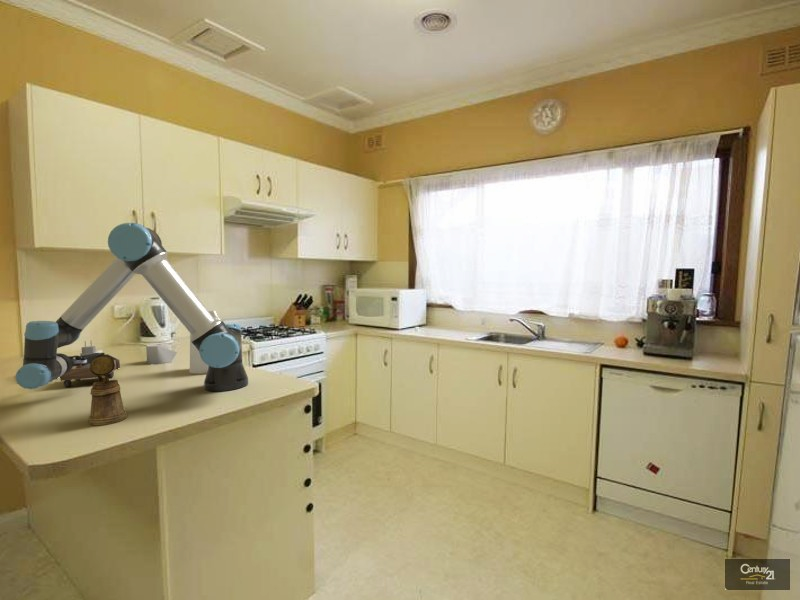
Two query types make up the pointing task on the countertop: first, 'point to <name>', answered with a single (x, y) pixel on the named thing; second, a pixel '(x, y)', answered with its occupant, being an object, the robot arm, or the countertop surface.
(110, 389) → the brown bell-shaped piece
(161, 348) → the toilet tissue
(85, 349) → the power adapter
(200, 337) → the robot arm
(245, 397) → the countertop surface
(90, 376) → the cart
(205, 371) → the milk
